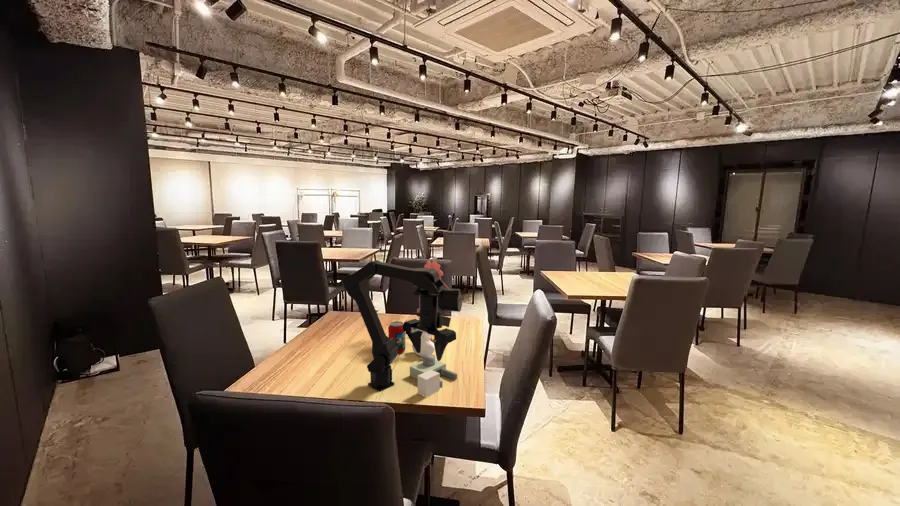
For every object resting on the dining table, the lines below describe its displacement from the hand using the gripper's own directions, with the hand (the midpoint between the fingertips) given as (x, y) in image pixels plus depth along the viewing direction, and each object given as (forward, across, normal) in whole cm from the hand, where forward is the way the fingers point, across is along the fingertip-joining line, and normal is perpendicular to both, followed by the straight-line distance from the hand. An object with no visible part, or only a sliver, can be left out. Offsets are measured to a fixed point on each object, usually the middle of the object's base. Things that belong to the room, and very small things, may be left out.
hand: (428, 356), depth 120 cm
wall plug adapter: (+12, +6, -8) cm, 16 cm away
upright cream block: (+12, 0, 0) cm, 12 cm away
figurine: (+12, +36, -39) cm, 54 cm away
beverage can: (+12, +33, -15) cm, 38 cm away
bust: (+12, +23, -20) cm, 33 cm away
